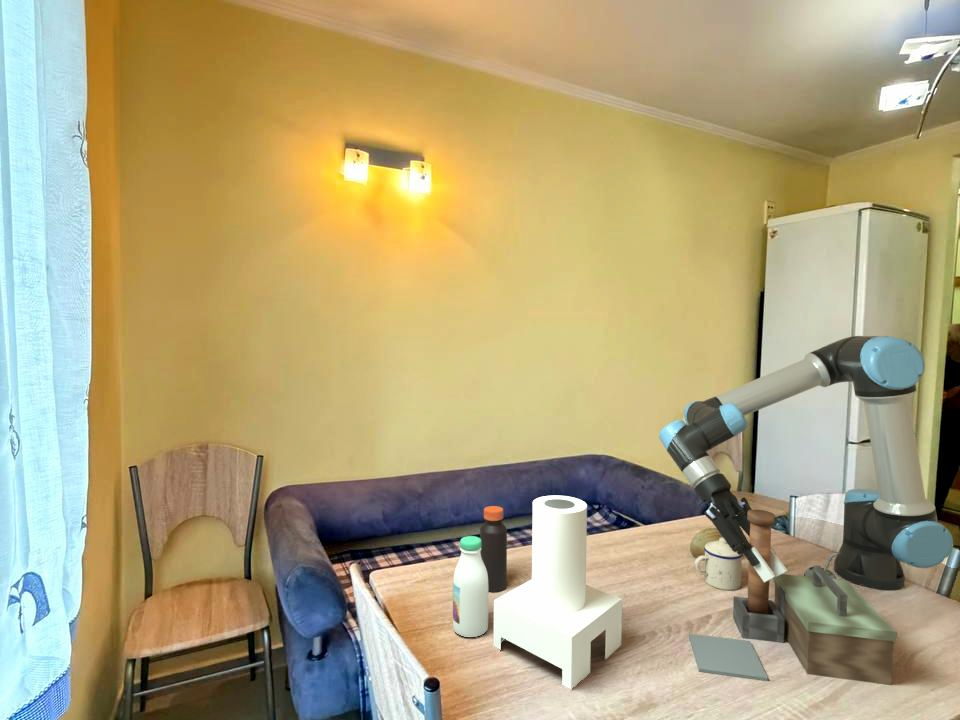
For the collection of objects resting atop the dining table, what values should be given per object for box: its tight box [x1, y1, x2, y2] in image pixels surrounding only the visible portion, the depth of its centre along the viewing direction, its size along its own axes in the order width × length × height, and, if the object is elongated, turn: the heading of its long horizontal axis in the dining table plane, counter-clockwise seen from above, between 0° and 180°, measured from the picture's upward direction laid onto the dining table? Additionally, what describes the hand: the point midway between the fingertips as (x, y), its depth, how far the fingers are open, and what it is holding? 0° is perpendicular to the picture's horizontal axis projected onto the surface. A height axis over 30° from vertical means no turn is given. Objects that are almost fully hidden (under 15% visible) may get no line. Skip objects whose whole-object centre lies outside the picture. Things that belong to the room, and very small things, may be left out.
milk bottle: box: [452, 535, 489, 638], centre depth 115 cm, size 8×8×20 cm
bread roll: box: [689, 527, 736, 559], centre depth 153 cm, size 10×15×8 cm, turn 102°
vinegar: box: [479, 505, 508, 593], centre depth 134 cm, size 7×7×20 cm
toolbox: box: [732, 564, 898, 686], centre depth 109 cm, size 23×21×14 cm
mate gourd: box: [803, 551, 840, 579], centre depth 126 cm, size 8×8×15 cm
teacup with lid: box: [694, 538, 744, 591], centre depth 136 cm, size 12×9×12 cm
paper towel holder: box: [493, 494, 623, 691], centre depth 108 cm, size 19×19×30 cm
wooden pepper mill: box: [747, 509, 776, 615], centre depth 114 cm, size 5×5×24 cm
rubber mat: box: [688, 633, 769, 682], centre depth 106 cm, size 12×12×1 cm
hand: (775, 576), depth 111 cm, fingers closed on wooden pepper mill, 4 cm apart
